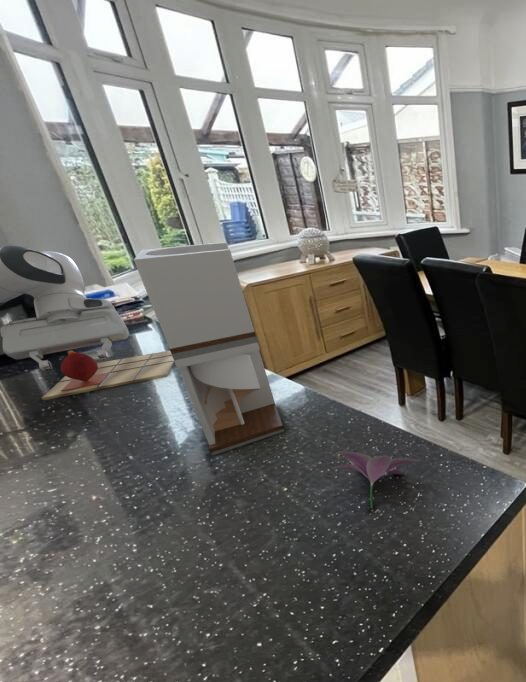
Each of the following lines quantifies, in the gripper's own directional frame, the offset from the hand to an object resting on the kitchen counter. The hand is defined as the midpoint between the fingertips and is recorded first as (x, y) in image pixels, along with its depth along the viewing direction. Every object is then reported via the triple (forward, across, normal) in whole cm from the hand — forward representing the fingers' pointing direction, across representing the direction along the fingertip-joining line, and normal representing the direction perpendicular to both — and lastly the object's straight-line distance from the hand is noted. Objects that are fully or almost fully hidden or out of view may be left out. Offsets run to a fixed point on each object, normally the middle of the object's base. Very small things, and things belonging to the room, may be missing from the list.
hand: (75, 363), depth 92 cm
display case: (+38, +28, -28) cm, 55 cm away
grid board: (+2, +6, +7) cm, 9 cm away
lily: (+60, +42, -51) cm, 89 cm away
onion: (+3, 0, +4) cm, 5 cm away
